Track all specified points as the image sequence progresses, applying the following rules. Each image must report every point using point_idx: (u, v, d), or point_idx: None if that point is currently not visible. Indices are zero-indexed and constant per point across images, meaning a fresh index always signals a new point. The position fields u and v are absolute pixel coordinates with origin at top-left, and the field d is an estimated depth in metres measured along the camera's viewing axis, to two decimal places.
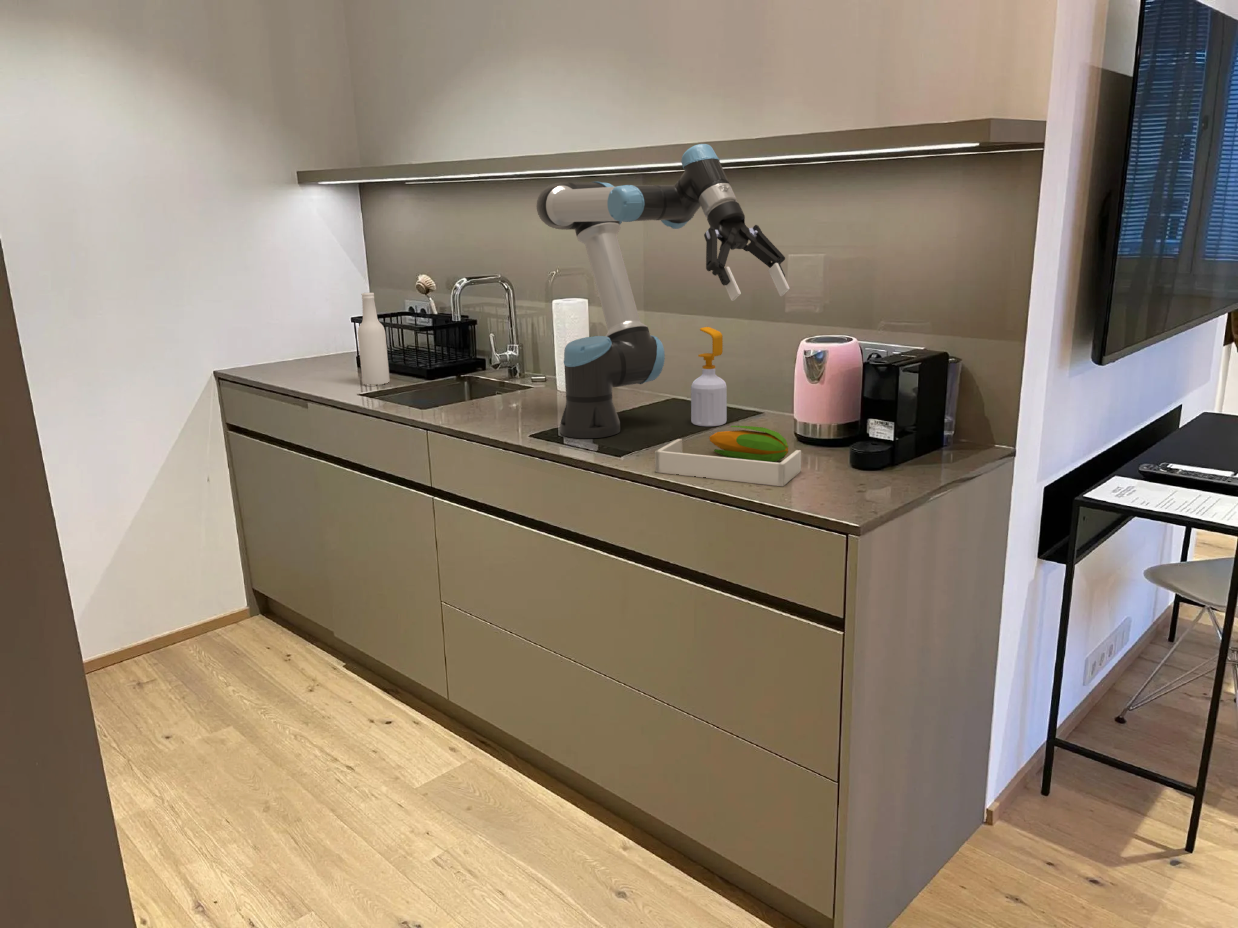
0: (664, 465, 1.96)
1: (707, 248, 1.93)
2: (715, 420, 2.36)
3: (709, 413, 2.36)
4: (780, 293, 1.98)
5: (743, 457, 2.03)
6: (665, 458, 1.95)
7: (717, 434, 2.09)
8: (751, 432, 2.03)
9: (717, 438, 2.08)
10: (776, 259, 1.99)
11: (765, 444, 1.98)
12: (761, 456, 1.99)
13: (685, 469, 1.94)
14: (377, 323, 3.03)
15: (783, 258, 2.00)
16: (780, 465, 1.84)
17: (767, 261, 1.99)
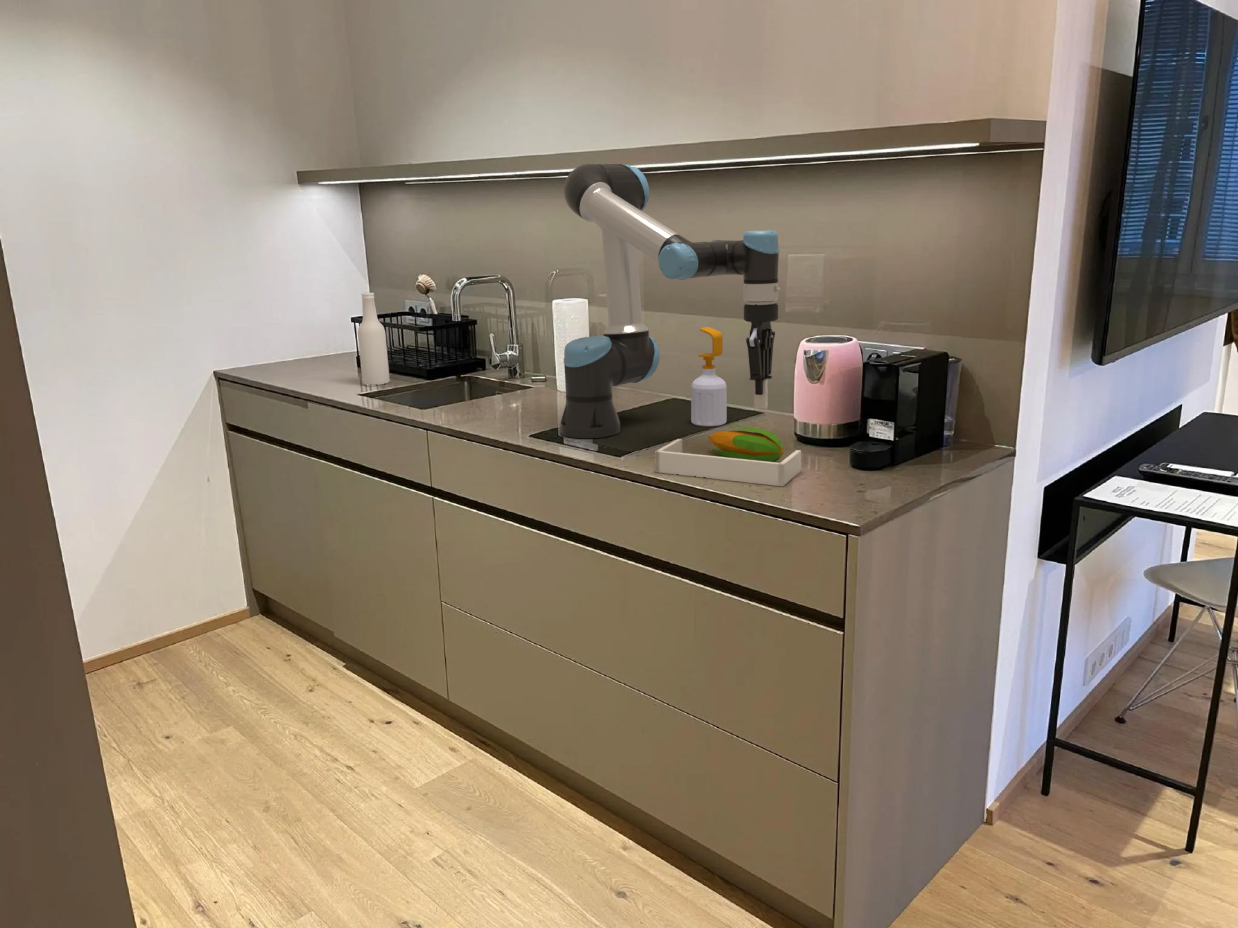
0: (664, 465, 1.96)
1: (750, 356, 2.03)
2: (715, 420, 2.36)
3: (709, 413, 2.36)
4: None
5: (738, 458, 2.02)
6: (665, 458, 1.95)
7: (715, 434, 2.09)
8: (747, 433, 2.03)
9: (715, 438, 2.08)
10: (767, 374, 2.09)
11: (759, 445, 1.98)
12: (755, 457, 1.99)
13: (685, 469, 1.94)
14: (377, 323, 3.03)
15: (770, 372, 2.10)
16: (780, 465, 1.84)
17: None
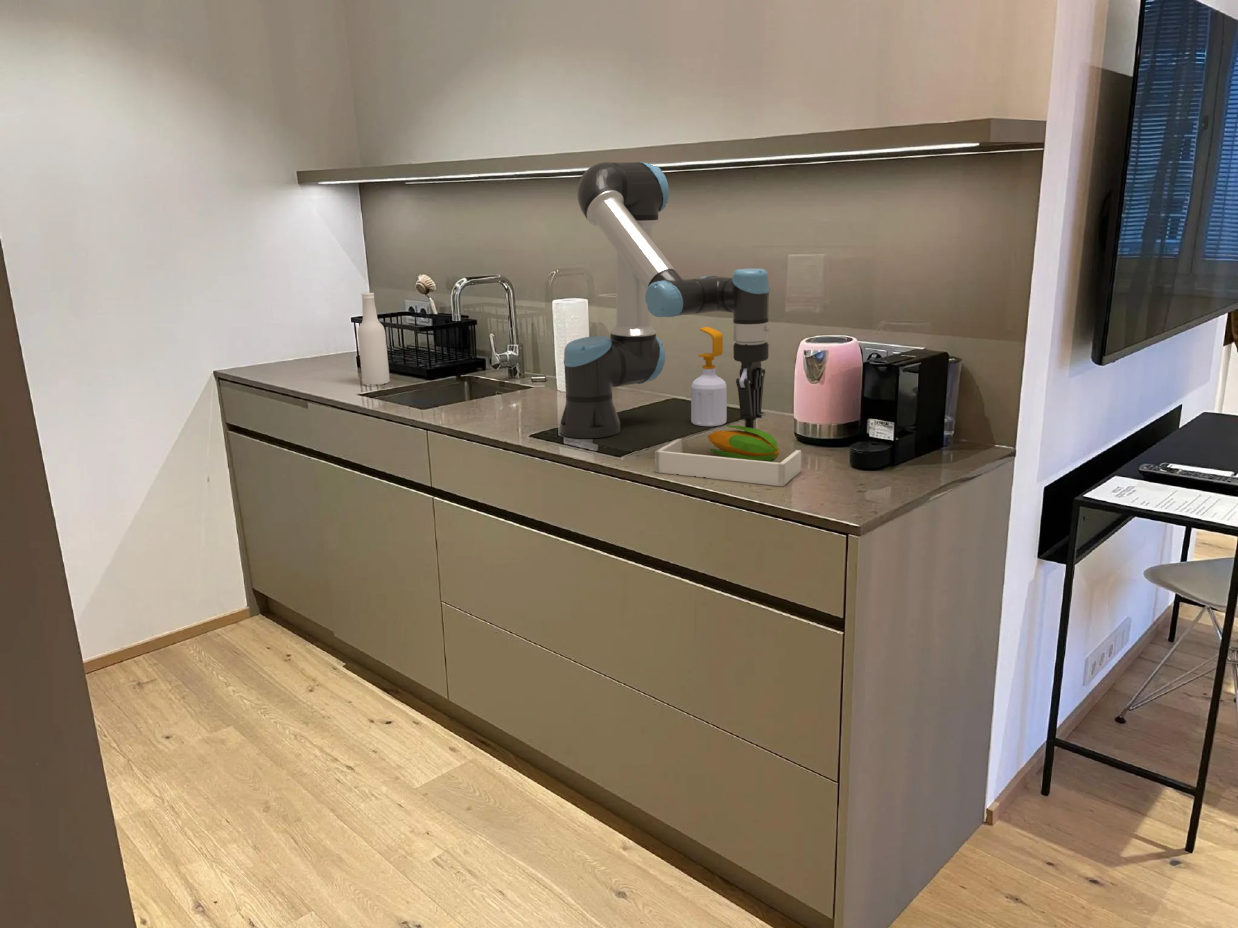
0: (664, 465, 1.96)
1: (740, 397, 2.00)
2: (715, 420, 2.36)
3: (709, 413, 2.36)
4: None
5: None
6: (665, 458, 1.95)
7: (714, 433, 2.08)
8: (744, 433, 2.02)
9: (714, 437, 2.08)
10: (758, 413, 2.06)
11: (754, 446, 1.97)
12: (750, 458, 1.98)
13: (685, 469, 1.94)
14: (377, 323, 3.03)
15: (760, 411, 2.07)
16: (780, 465, 1.84)
17: None
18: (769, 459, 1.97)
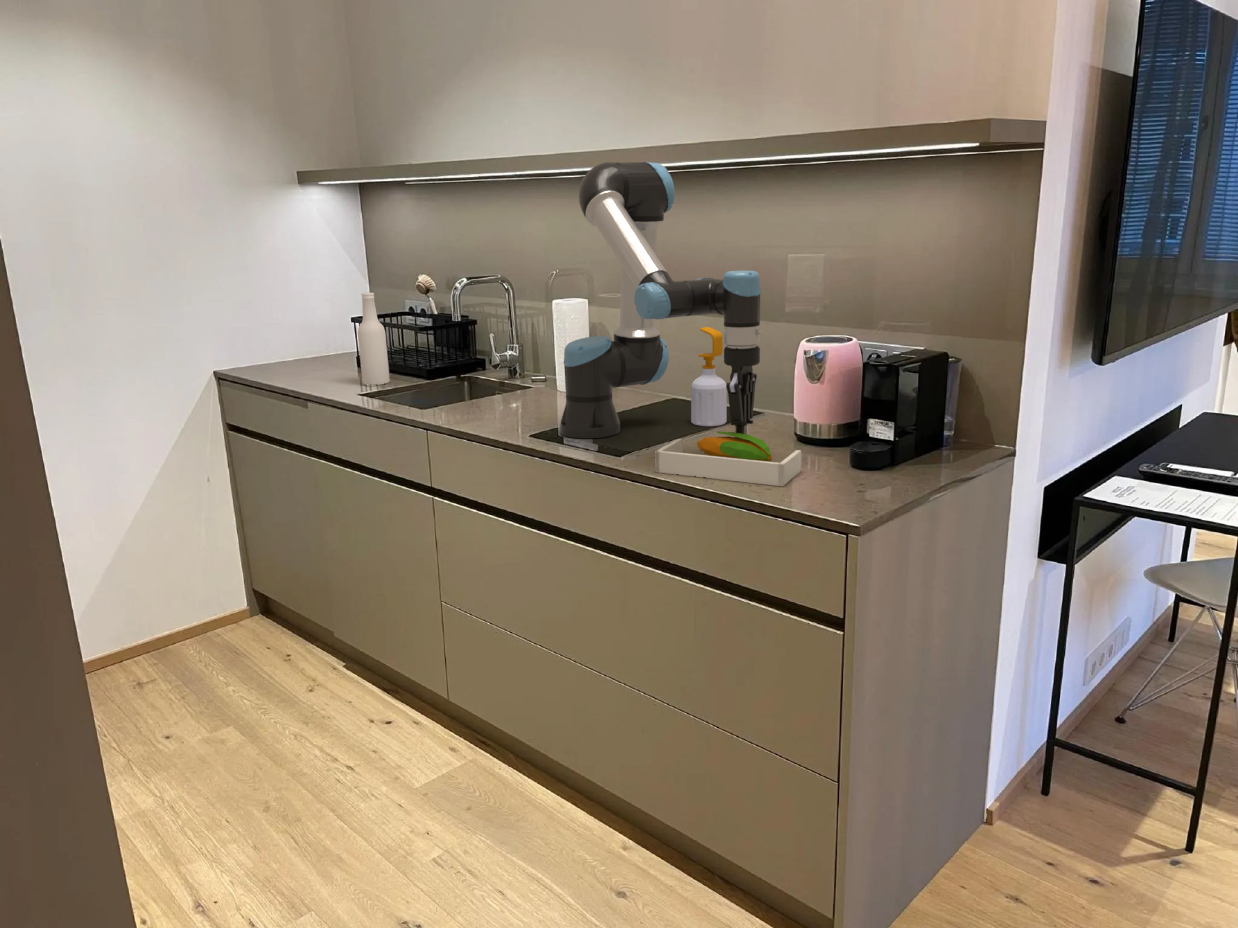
0: (664, 465, 1.96)
1: (731, 402, 1.95)
2: (715, 420, 2.36)
3: (709, 413, 2.36)
4: None
5: None
6: (665, 458, 1.95)
7: (703, 440, 2.03)
8: (735, 439, 1.97)
9: (703, 444, 2.02)
10: (749, 419, 2.01)
11: (746, 452, 1.91)
12: None
13: (685, 469, 1.94)
14: (377, 323, 3.03)
15: (751, 417, 2.02)
16: (780, 465, 1.84)
17: None
18: None
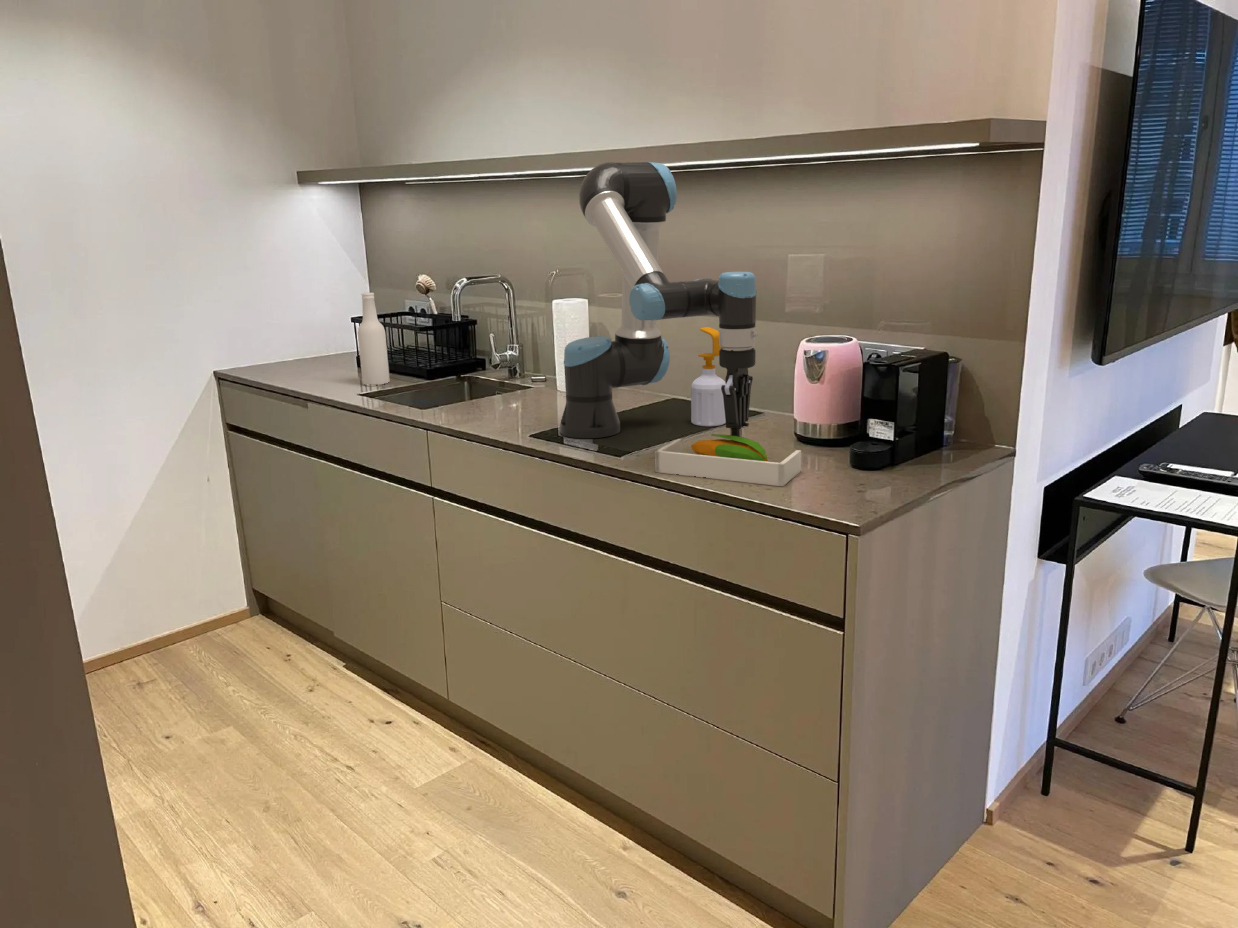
0: (664, 465, 1.96)
1: (726, 404, 1.93)
2: (715, 420, 2.36)
3: (709, 413, 2.36)
4: None
5: None
6: (665, 458, 1.95)
7: (698, 443, 2.00)
8: (730, 442, 1.95)
9: (698, 447, 2.00)
10: (744, 421, 1.98)
11: (742, 455, 1.89)
12: None
13: (685, 469, 1.94)
14: (377, 323, 3.03)
15: (747, 419, 2.00)
16: (780, 465, 1.84)
17: None
18: None
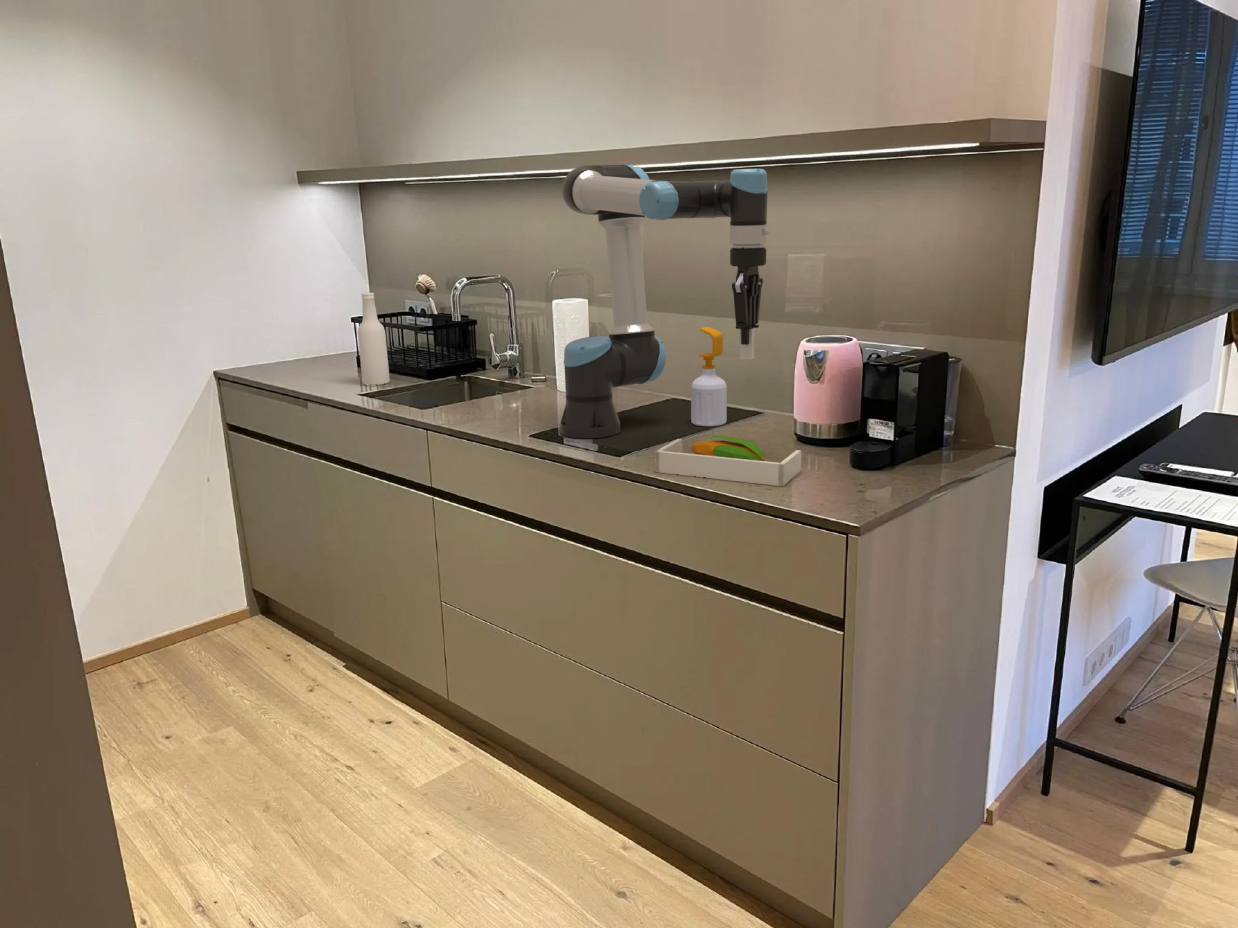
0: (664, 465, 1.96)
1: (736, 303, 1.93)
2: (715, 420, 2.36)
3: (709, 413, 2.36)
4: None
5: None
6: (665, 458, 1.95)
7: (698, 443, 2.01)
8: (729, 443, 1.95)
9: (697, 448, 2.00)
10: (754, 323, 1.99)
11: (739, 456, 1.89)
12: None
13: (685, 469, 1.94)
14: (377, 323, 3.03)
15: (757, 322, 2.00)
16: (780, 465, 1.84)
17: None
18: None
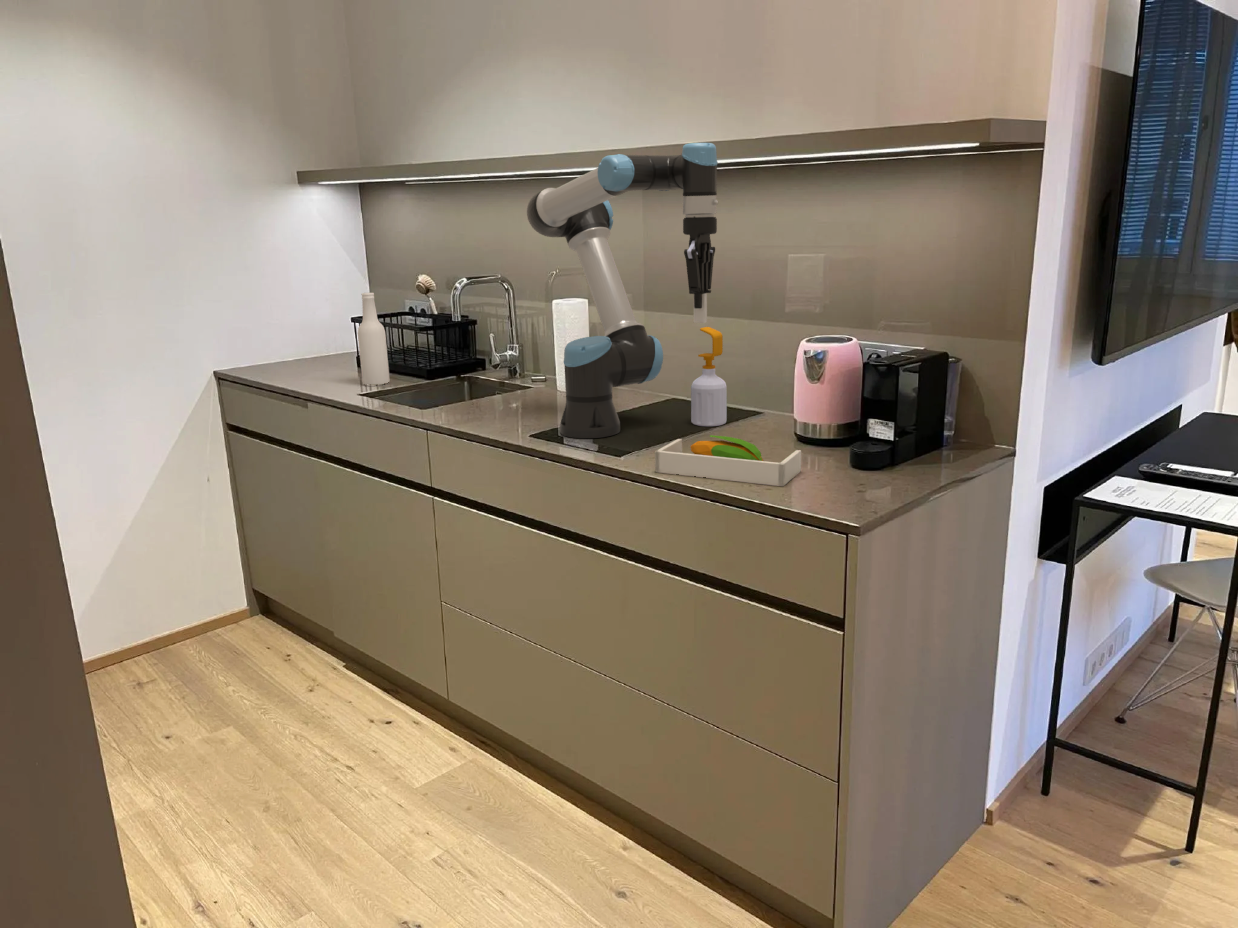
0: (664, 465, 1.96)
1: (688, 268, 2.07)
2: (715, 420, 2.36)
3: (709, 413, 2.36)
4: None
5: None
6: (665, 458, 1.95)
7: (697, 443, 2.01)
8: (727, 443, 1.94)
9: (696, 447, 2.00)
10: (707, 288, 2.12)
11: (737, 456, 1.89)
12: None
13: (685, 469, 1.94)
14: (377, 323, 3.03)
15: (710, 287, 2.13)
16: (780, 465, 1.84)
17: None
18: None
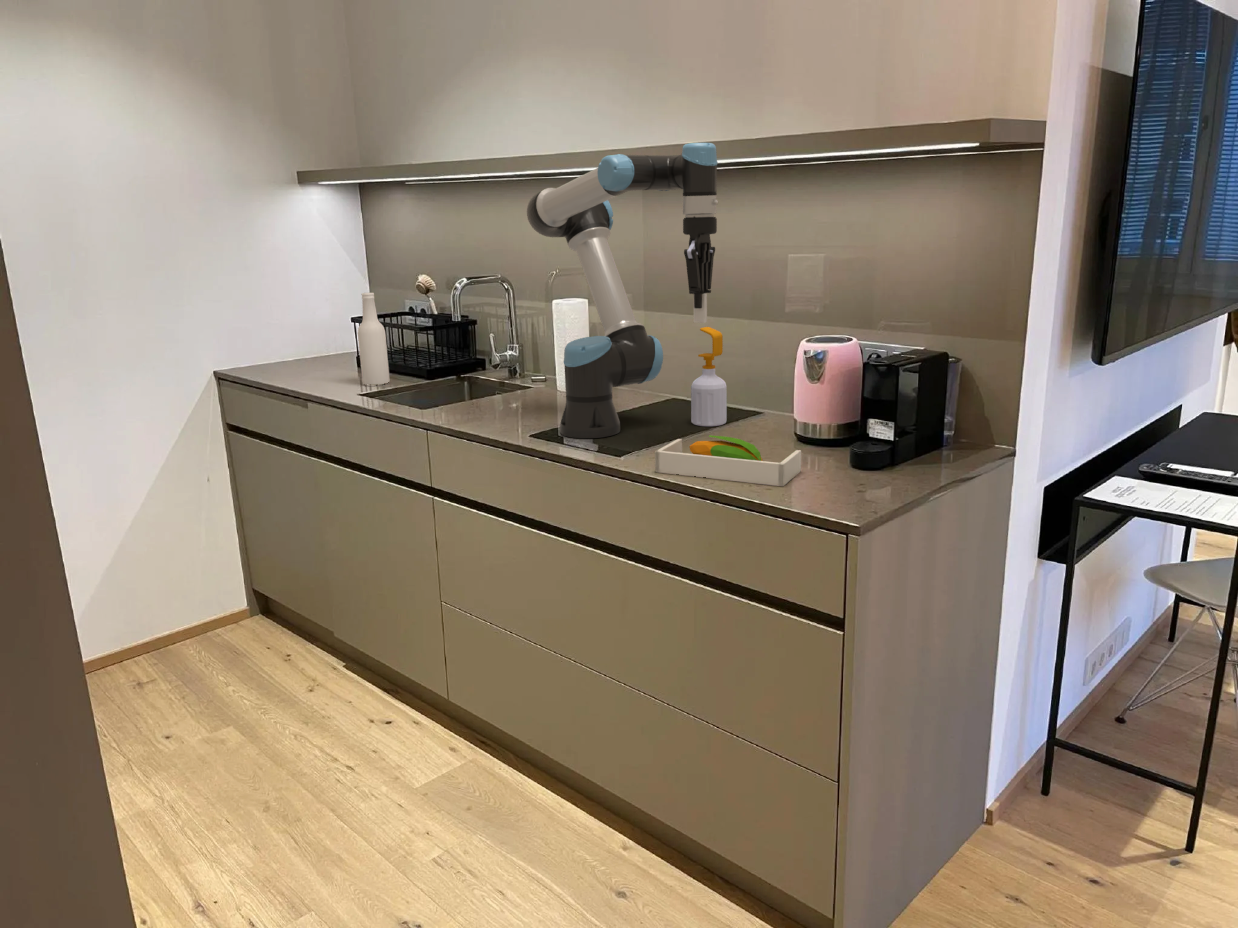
0: (664, 465, 1.96)
1: (688, 268, 2.07)
2: (715, 420, 2.36)
3: (709, 413, 2.36)
4: None
5: None
6: (665, 458, 1.95)
7: (696, 443, 2.01)
8: (727, 443, 1.95)
9: (695, 448, 2.00)
10: (707, 288, 2.12)
11: (736, 456, 1.89)
12: None
13: (685, 469, 1.94)
14: (377, 323, 3.03)
15: (709, 287, 2.13)
16: (780, 465, 1.84)
17: None
18: None
